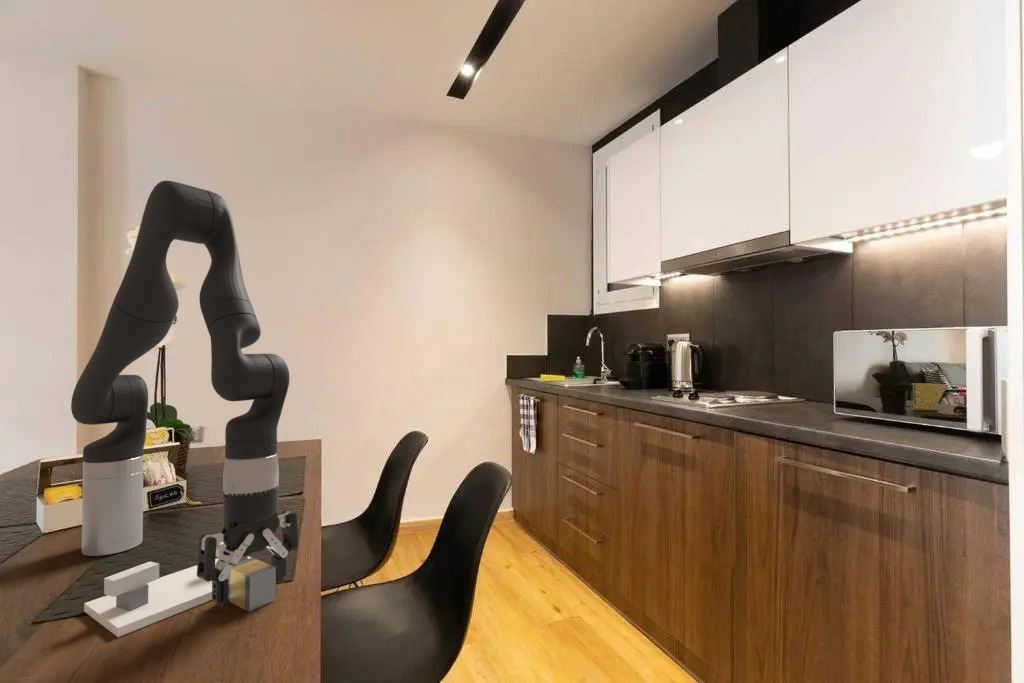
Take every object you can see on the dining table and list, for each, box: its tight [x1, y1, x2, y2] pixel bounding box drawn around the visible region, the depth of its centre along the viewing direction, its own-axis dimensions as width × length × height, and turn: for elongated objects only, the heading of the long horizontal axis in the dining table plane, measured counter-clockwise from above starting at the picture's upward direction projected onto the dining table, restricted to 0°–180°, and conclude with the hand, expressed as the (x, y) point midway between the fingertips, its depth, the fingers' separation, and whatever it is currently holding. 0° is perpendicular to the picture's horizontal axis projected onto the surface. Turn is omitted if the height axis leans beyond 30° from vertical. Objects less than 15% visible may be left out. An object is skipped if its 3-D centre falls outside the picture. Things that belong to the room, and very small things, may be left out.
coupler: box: [227, 557, 277, 613], centre depth 76 cm, size 4×6×5 cm, turn 57°
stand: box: [83, 541, 252, 638], centre depth 78 cm, size 12×22×6 cm, turn 147°
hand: (250, 592), depth 76 cm, fingers open, 8 cm apart
